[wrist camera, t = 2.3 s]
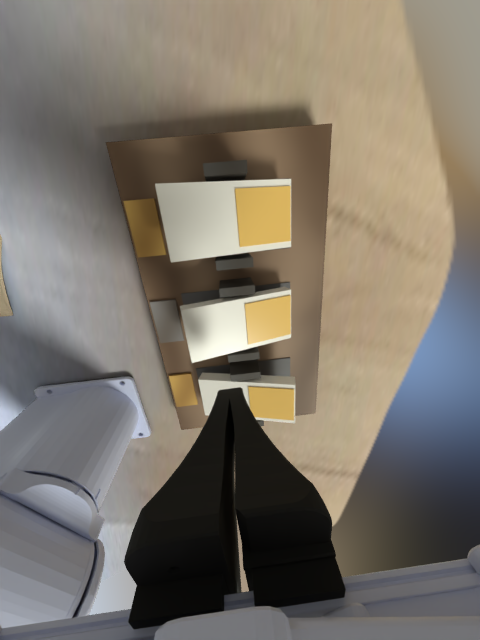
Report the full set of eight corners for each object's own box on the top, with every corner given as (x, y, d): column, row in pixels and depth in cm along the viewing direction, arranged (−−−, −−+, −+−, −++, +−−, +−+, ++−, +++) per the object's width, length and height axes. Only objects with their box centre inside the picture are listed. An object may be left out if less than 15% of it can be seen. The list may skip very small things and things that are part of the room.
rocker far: (208, 407, 21) (204, 416, 20) (202, 372, 20) (197, 380, 19) (294, 413, 19) (295, 424, 18) (294, 376, 18) (295, 385, 17)
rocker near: (170, 260, 14) (171, 262, 13) (155, 187, 12) (154, 183, 11) (283, 246, 16) (292, 247, 15) (283, 182, 14) (292, 178, 13)
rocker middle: (190, 356, 16) (192, 363, 16) (179, 305, 15) (181, 310, 14) (284, 333, 19) (291, 338, 18) (284, 286, 17) (291, 289, 16)
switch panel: (184, 414, 24) (176, 453, 20) (120, 153, 15) (80, 123, 11) (308, 399, 25) (326, 434, 21) (319, 136, 16) (354, 101, 11)
